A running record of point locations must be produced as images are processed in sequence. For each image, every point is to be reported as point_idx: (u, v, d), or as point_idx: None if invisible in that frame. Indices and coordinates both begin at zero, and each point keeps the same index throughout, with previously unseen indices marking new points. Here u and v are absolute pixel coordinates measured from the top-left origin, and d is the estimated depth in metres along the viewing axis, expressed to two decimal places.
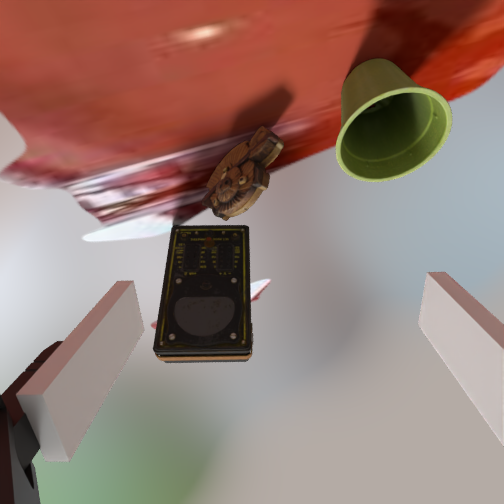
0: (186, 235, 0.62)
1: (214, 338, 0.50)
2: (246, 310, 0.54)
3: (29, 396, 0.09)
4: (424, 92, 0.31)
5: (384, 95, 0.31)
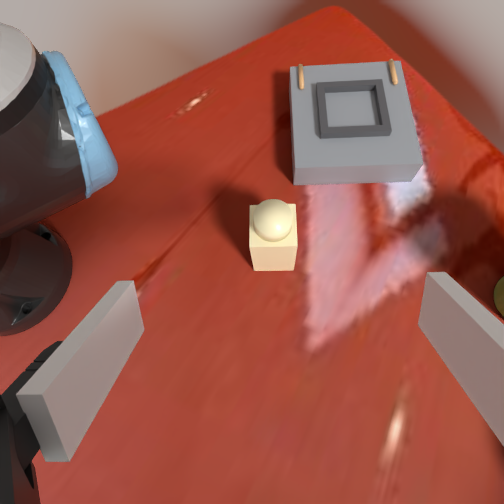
0: None
1: None
2: None
3: (29, 396, 0.09)
4: None
5: None
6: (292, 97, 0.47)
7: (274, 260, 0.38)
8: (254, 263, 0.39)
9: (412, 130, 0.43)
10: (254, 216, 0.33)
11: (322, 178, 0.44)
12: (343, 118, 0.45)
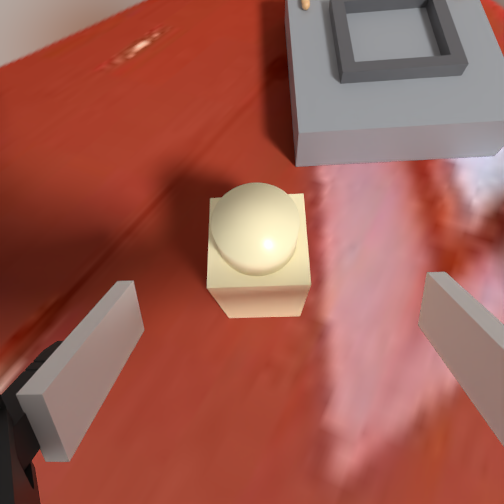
0: None
1: None
2: None
3: (29, 396, 0.09)
4: None
5: None
6: (290, 22, 0.28)
7: (264, 305, 0.19)
8: (226, 309, 0.21)
9: (501, 65, 0.25)
10: (214, 221, 0.15)
11: (344, 152, 0.26)
12: (378, 51, 0.26)
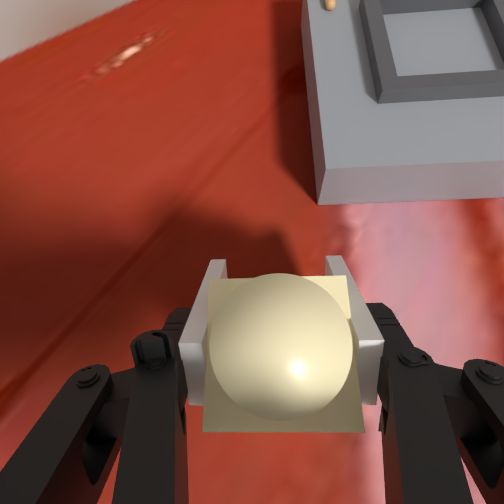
0: None
1: None
2: None
3: (188, 345, 0.11)
4: None
5: None
6: (311, 25, 0.23)
7: None
8: None
9: None
10: (214, 340, 0.09)
11: (381, 190, 0.20)
12: (424, 62, 0.21)
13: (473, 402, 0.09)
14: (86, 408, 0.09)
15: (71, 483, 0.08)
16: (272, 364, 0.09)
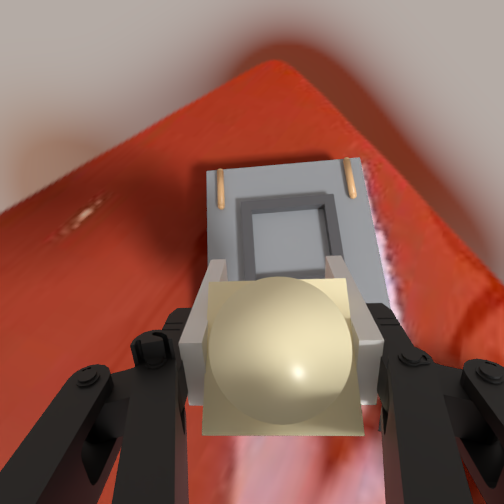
0: None
1: None
2: None
3: (188, 345, 0.11)
4: None
5: None
6: (208, 222, 0.33)
7: None
8: None
9: (379, 276, 0.30)
10: (214, 344, 0.09)
11: None
12: (280, 258, 0.31)
13: (473, 402, 0.09)
14: (86, 408, 0.09)
15: (71, 483, 0.08)
16: (272, 368, 0.09)
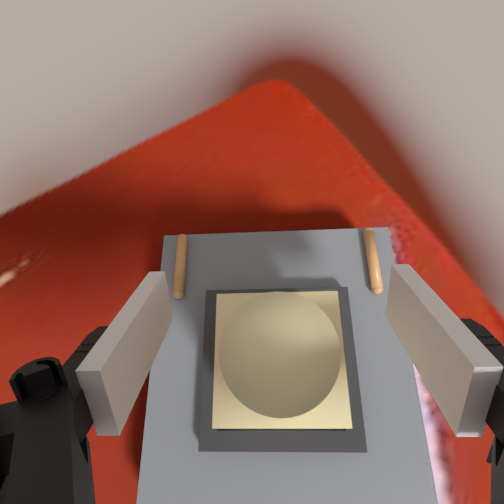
0: None
1: None
2: None
3: (87, 372, 0.10)
4: None
5: None
6: None
7: None
8: None
9: (417, 433, 0.18)
10: (223, 350, 0.11)
11: None
12: None
13: None
14: None
15: None
16: (272, 370, 0.11)
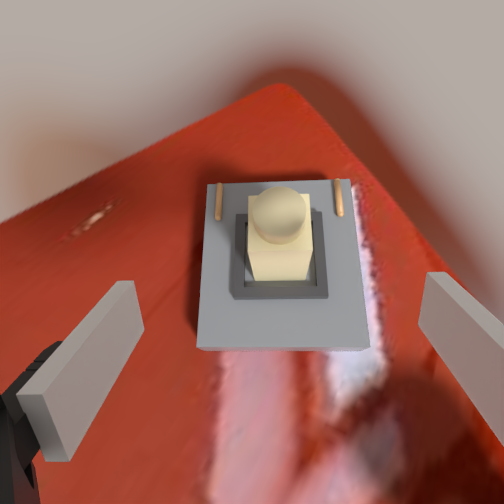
0: None
1: None
2: None
3: (29, 396, 0.09)
4: None
5: None
6: (205, 231, 0.35)
7: (281, 268, 0.29)
8: (255, 272, 0.30)
9: (358, 290, 0.32)
10: (254, 209, 0.24)
11: (239, 349, 0.33)
12: None
13: None
14: None
15: None
16: (276, 217, 0.24)
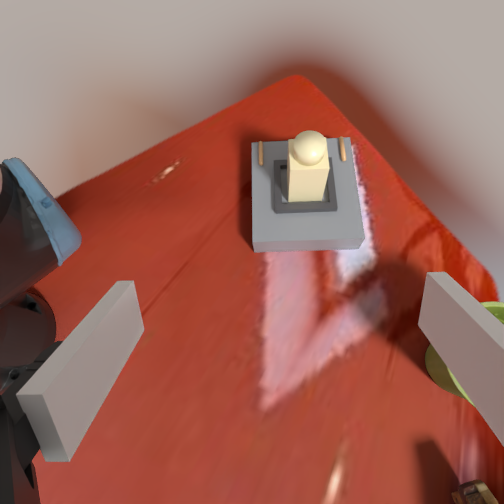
0: None
1: None
2: None
3: (29, 396, 0.09)
4: None
5: None
6: (252, 172, 0.52)
7: (308, 187, 0.46)
8: (290, 192, 0.47)
9: (357, 206, 0.49)
10: (295, 143, 0.41)
11: (278, 247, 0.50)
12: None
13: None
14: None
15: None
16: (308, 147, 0.41)
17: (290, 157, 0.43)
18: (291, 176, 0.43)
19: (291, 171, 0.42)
